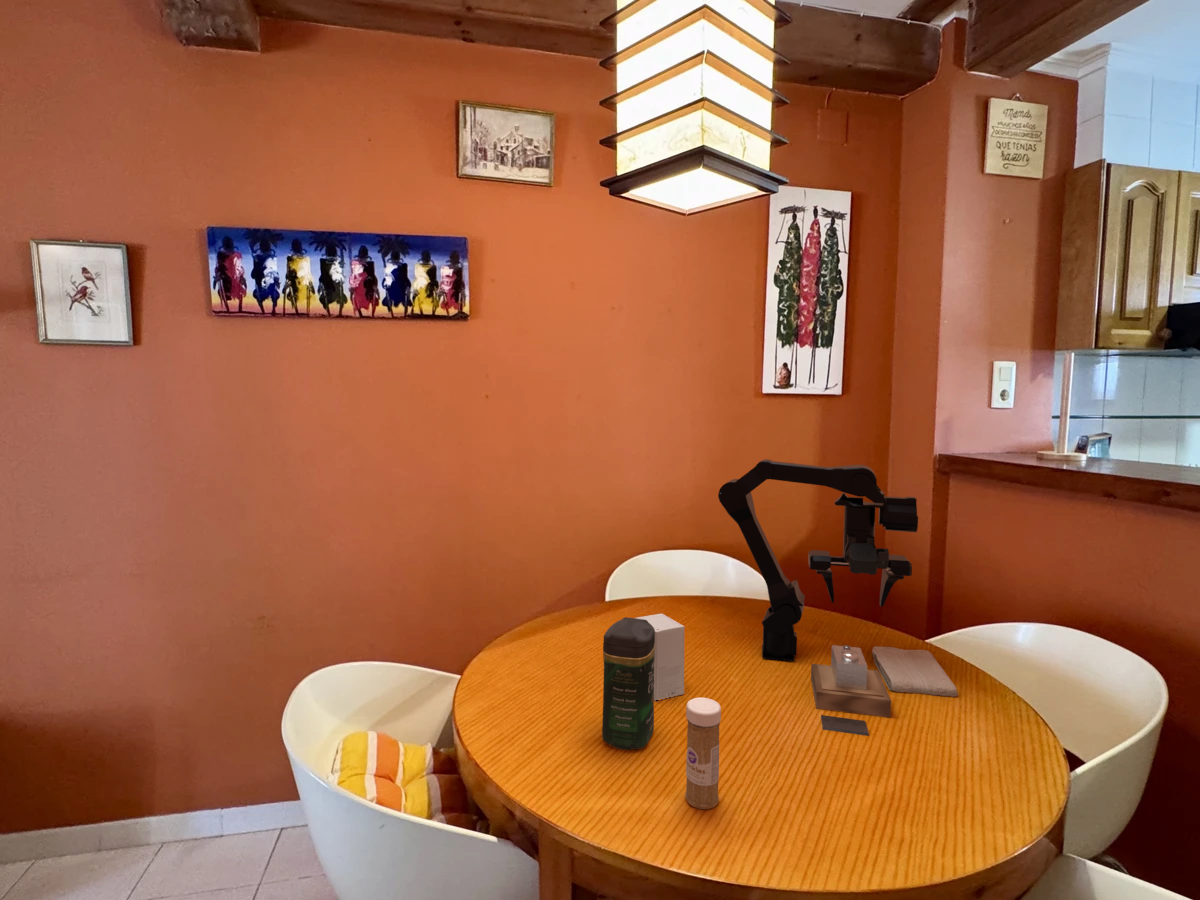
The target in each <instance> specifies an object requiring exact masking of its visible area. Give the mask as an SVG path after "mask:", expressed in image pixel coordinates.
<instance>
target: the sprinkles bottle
mask: <svg viewBox="0 0 1200 900" xmlns="http://www.w3.org/2000/svg"><path fill="white" fill-rule="evenodd" d="M685 709H686V711H685V715H686V716H685V717H686V721H687V730H686V731H687V732H686V738H687V739H686V741H687V742H686V755H685V757H686V759H685V760H686V761H685V775H686V779H685V780H686V787H685V793H684V795H685V799H686V802H688V804H689V805H690V806H692V807H694V808H695V809H699V810H709V809H712V808H714V807H716V806H717V804H718V803H719V801H720V799H719V798H720V797H719V779H720V724H721V719H722V710H721V709H722V708H721V705H720V703H719V702H717V701H716V700H714V699H711V698H708V697H695V698H691V699H690V700H688V702H687V703H686V708H685Z"/></svg>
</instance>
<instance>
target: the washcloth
mask: <svg viewBox="0 0 1200 900" xmlns="http://www.w3.org/2000/svg"><path fill="white" fill-rule="evenodd" d="M871 652H872V653H871V654H872V657H873V658H872V659H873V661H874V664H875V666H876V668H877V669H878V671H879V674H880V676H881V678H882V680H883V682H884V683H885V685H886V687H887V688H888V690H889V691H893V692H896V693H904V692H907V694H913V693H914V694H921V693H922V694H921V695H928V694H929V696H937V695H938V696H939V695H940V696H941V697H948V696H951V698H955V697H958V696H959V693H958V689H957V686H956V685H955V684H954V683H953V681H952V680H951V678H950V677H949V676H948V674H947V673H946V672H945V669H943V667H942V666H941V665H940V663H938V661H937V660H936V658H935V656H934V655H933V653H932V652H930V651H928V650H926V649H902V648H897V647H893V646H876V645H875V646H874V647H872V651H871ZM938 696H937V697H938Z"/></svg>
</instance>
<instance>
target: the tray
mask: <svg viewBox="0 0 1200 900" xmlns="http://www.w3.org/2000/svg"><path fill="white" fill-rule="evenodd" d="M810 666H811V667H810V680H811V681H810V682H811V686H812V693H813V696H814V703H815V709H816V710H817V709H819V710H827V711H833V712H834V711H835V712H842V713H850V714H852V713H853V714H859V715H860V714H861V715H866V716H874V717H876V716H877V717H885V718H891V714H892V713H891V710H892V700H891V697H890V695H889V692H888V690H887V688H886V686H885V685H886V684H885V682H884V680H883V677H882V675H881V674H880V672H879V670H876V669H869V668H867V686H866V690H858V689H849V688H840V687H836V685H835V681H834V677H833V673H832V670H831V664H830V665H828V664H819V663H811V665H810Z"/></svg>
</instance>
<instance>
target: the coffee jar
mask: <svg viewBox="0 0 1200 900" xmlns="http://www.w3.org/2000/svg"><path fill="white" fill-rule="evenodd" d="M636 618H637V617H627V616H625V617H623V618H622V619H619V620H618V621H616V622H615V623H613V624H611V625H610V626H609V628H608V629H607V630H606V631H605V633H604V635H603V643H602V644H603V645H602V646H603V647H602V655H603V686H602V687H603V689H602V691H603V694H602V695H603V697H602V719H601V720H602V723H601V725H602V727H601V728H602V729H601V737H602V740H603V742H605V743H606V744H608V745H610V746H612V747H613V748H616V749H618V750H624V749H625V750H626V751H628V750H638V749H643V748H645V746H647V744H648V743H649V742H650V740H651V738H652V735H653V733H654V727H655V700H654V661H655V660H654V658H655V629H654V627H653V626H652V625H651V624H650V623H649V622H648V621H647V620H644V619H636Z"/></svg>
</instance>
